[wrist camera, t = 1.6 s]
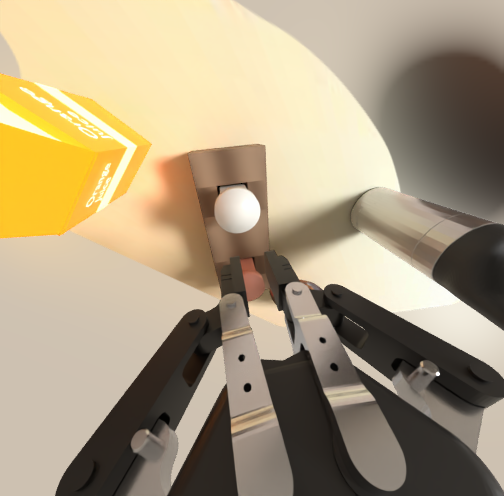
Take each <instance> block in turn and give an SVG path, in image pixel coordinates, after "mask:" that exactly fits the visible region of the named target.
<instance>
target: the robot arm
mask: <svg viewBox="0 0 504 496" xmlns="http://www.w3.org/2000/svg"><path fill="white" fill-rule="evenodd" d="M351 223H352V225H353V226H354V227H355V228H356V229H358V230H359V231H361V232H362V233H364V234H365V235H367V236H368V237H369V238H371V239H372V240H374V241H375V242H377V243H378V244H380V245H381V246H383V247H384V248H386V249H387V250H389V251H390V252H392V253H393V254H395V255H396V256H398V257H399V258H401V259H402V260H404V261H405V262H407V263H408V264H410V265H411V266H413V267H414V268H416V269H417V270H419V271H420V272H422V273H423V274H425V275H426V276H428V277H429V278H431V279H432V280H434V281H435V282H437V283H438V284H440V285H441V286H443V287H444V288H446V289H447V290H448V291H450V292H451V293H452V294H453V295H455V296H456V297H457V298H459V299H460V300H461V301H463V302H464V303H466V304H467V305H469V306H470V307H471V308H473V309H474V310H476V311H477V312H479V313H480V314H482V315H483V316H484V317H486V318H487V319H488V320H490V321H491V322H493V323H494V324H495V325H497V326H498V327H500V328H501V329H502V330H504V225H502V224H499V223H495V222H492V221H489V220H486V219H483V218H480V217H476V216H473V215H470V214H466V213H463V212H460V211H457V210H454V209H451V208H447V207H444V206H441V205H438V204H434V203H431V202H428V201H425V200H422V199H419V198H416V197H412V196H409V195H406V194H403V193H400V192H397V191H394V190H391V189H387V188H383V187H378V188H374V189H371V190H369V191H368V192H366V193H365V194H363V195H362V196H361V197H360V198H359V199H358V201H357V202H356V203H355V205H354V207H353V209H352V212H351ZM264 263H265V273H266V277H267V279H268V282H269V285H270V288H271V291H272V294H273V296H274V299H275V302H276V305H277V308H278V310H279V311H282V310H283V311H284V314H285V322H286V326H287V329H288V333H289V337H290V340H291V344H292V347H293V354H294V355H293V356H291V357H289V358H287V359H286V360H283V361H279V360H263V359H261V360H260V357H259V353H258V350H257V346H256V343H255V339H254V335H253V331H252V328H251V327H250V324H249V320H248V317H250V316H249V308H248V301H247V294H246V288H245V283H244V277H243V272H242V267H241V262H240V257H239V256H235V257H230V264H229V265H223V267H222V269H221V300H220V302H219V304H218V305H217V306H216V307H215V308H213V309H211V310H210V311H207V312H204V311H203V310H199V309H196V310H192V311H190V312H188V313H187V314H185V315H184V316H183V318H182V319H181V320H180V322H179V323H178V324H177V325H176V327H175V328H174V329H173V331H172V332H171V333H170V335H169V336H168V337H167V339H166V340H165V341H164V342H163V344H162V345H161V347H160V348H159V349H158V350H157V352H156V353H155V354H154V356H153V357H152V358H151V360H150V361H149V362H148V363H147V365H146V366H145V367H144V369H143V370H142V371H141V372H140V374H139V375H138V377H137V378H136V379H135V380H134V382H133V383H132V384H131V386H130V387H129V388H128V390H127V391H126V392H125V393H124V395H123V396H122V397H121V399H120V400H119V401H118V403H117V404H116V405H115V406H114V408H113V409H112V410H111V412H110V413H109V414H108V416H107V417H106V418H105V420H104V421H103V422H102V424H101V425H100V426H99V427H98V429H97V430H96V431H95V433H94V434H93V435H92V436H91V438H90V439H89V441H88V442H87V443H86V444H85V446H84V447H83V448H82V450H81V451H80V452H79V453H78V455H77V456H76V458H75V459H74V460H73V461H72V463H71V464H70V465H69V467H68V468H67V470H66V471H65V473H64V475H63V476H62V479H61V480H60V483H59V485H58V487H57V491H56V495H55V496H504V491H503V490H502V488H501V486H500V484H499V483H498V481H497V480H496V479H495V477H494V476H493V474H492V473H491V472H490V470H489V469H488V468H487V466H486V465H485V464H484V463H483V461H482V460H481V459H480V458H479V457H478V456H477V455H476V449H477V444H478V438H479V432H480V427H481V422H482V416H483V411H484V409H486V408H488V407H489V406H491V405H493V404H494V403H496V402H497V401H499V400H501V399H503V398H504V379H503V378H502V377H501V375H500V374H499V373H498V372H496V371H495V370H494V369H493V368H492V367H490V366H489V365H487V364H486V363H484V362H482V361H480V360H479V359H477V358H475V357H473V356H471V355H469V354H468V353H466V352H464V351H462V350H460V349H458V348H456V347H454V346H452V345H451V344H449V343H447V342H445V341H443V340H442V339H440V338H438V337H436V336H434V335H432V334H430V333H428V332H427V331H425V330H423V329H421V328H419V327H417V326H415V325H413V324H412V323H410V322H408V321H406V320H404V319H402V318H401V317H399V316H397V315H395V314H393V313H391V312H389V311H388V310H386V309H384V308H382V307H380V306H378V305H376V304H375V303H373V302H371V301H369V300H367V299H365V298H363V297H362V296H360V295H358V294H356V293H354V292H352V291H350V290H349V289H347V288H345V287H343V286H341V285H337V284H330V285H327V286H326V287H325V288H324V290H313V289H309V288H308V287H307V286H306V285H305V284H303V283H301V282H300V281H299V279H298V277H297V275H296V274H295V272H294V270H293V269H292V267H291V265H290V263H289V261H288V260H287V259H286V258H285V257H283V256H277V255H276V253H275V251H274V250H272V251H266V252H264ZM345 316H346V317H347V318H349V319H350V320H352V321H353V322H352V321H350V320H349V319H347V318H346V317H345ZM354 322H355V323H356V324H355V323H354ZM357 324H358V325H360V326H361V327H363V328H364V329H365V330H364V329H363V328H361V327H360V326H358V325H357ZM342 344H343V345H345V346H346V347H348V348H349V349H350V350H351V351H353V352H354V353H355V354H357V355H358V356H359V357H361V358H362V359H363V360H365V361H366V362H367V363H368V364H370V365H371V366H373V367H374V368H375V369H376V370H378V371H379V372H380V373H382V374H383V375H384V376H386V377H387V378H388V379H390V380H391V381H392V382H393V385H394V387H395V389H396V390H397V394H398V396H397V395H396V394H395V393H393V392H392V391H390V390H389V389H387V388H386V387H384V386H383V385H381V384H380V383H379V382H377V381H376V380H374V379H373V378H371V377H370V376H368V375H367V374H365V373H364V372H362V371H361V370H360V369H358V368H357V367H355V366H354V365H353V364H352V362H351V360H350V358H349V356H348V355H347V353H346V351H345V349H344V347H343V345H342ZM222 345H223V354H224V363H225V372H226V381H227V383H226V385H225V386H224V388H223V389H222V391H221V393H220V394H219V397H218V398H217V400H216V402H215V404H214V406H213V408H212V410H211V412H210V414H209V416H208V418H207V419H206V421H205V423H204V425H203V427H202V429H201V431H200V433H199V435H198V437H197V439H196V441H195V443H194V445H193V447H192V448H191V450H190V452H189V454H188V456H187V458H186V460H185V462H184V464H183V466H182V468H181V469H180V472H179V473H178V475H177V477H176V479H175V481H174V483H173V485H172V487H171V471H172V467H173V464H174V461H175V458H176V455H177V451H178V438H177V435H176V433H175V430H176V428H177V426H178V424H179V422H180V420H181V418H182V416H183V414H184V412H185V410H186V408H187V406H188V404H189V402H190V400H191V398H192V397H193V395H194V393H195V390H196V389H197V386H198V385H199V383H200V381H201V379H202V377H203V375H204V373H205V371H206V369H207V367H208V365H209V363H210V361H211V359H212V357H213V355H214V353H215V351H216V349H217V348H218V347H220V346H222Z"/></svg>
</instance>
